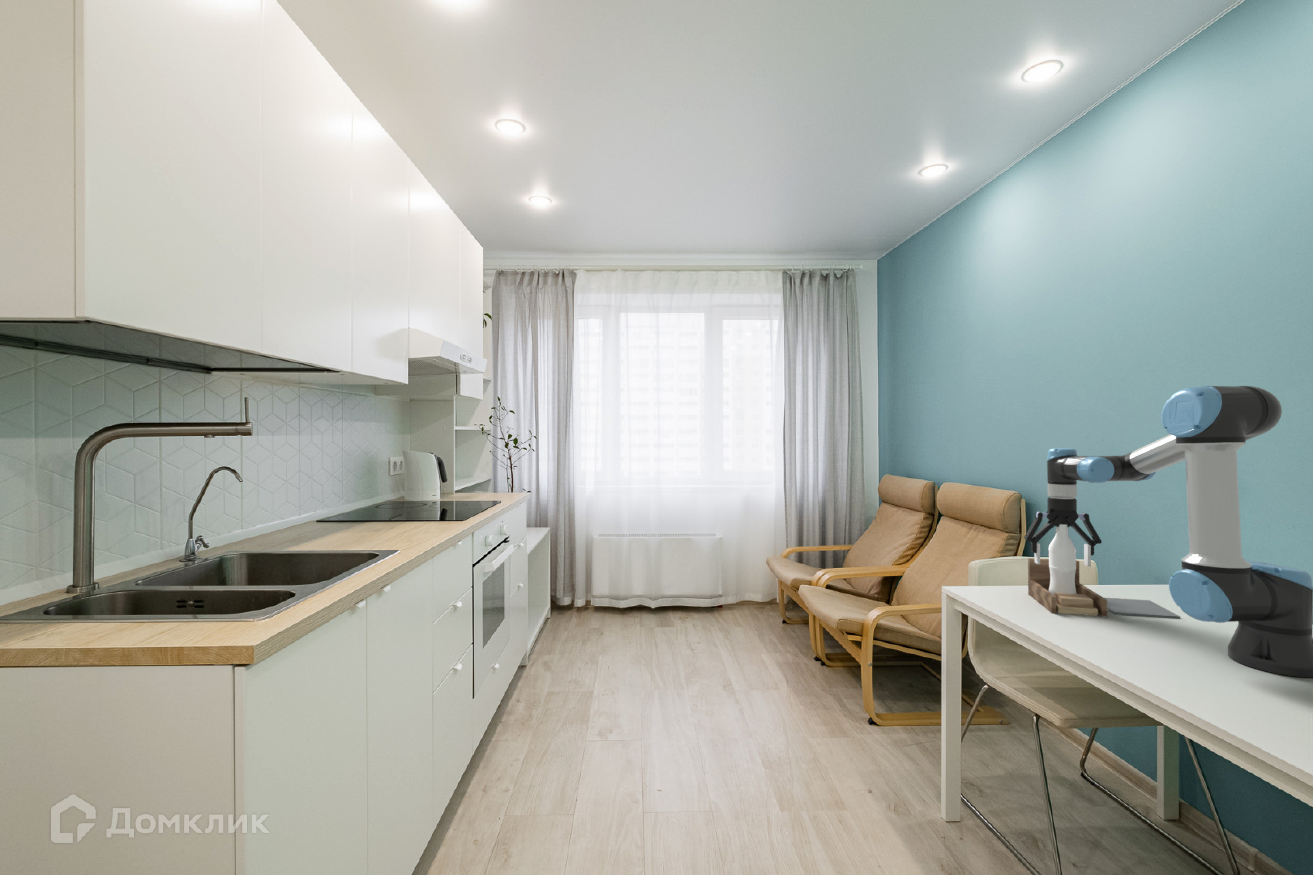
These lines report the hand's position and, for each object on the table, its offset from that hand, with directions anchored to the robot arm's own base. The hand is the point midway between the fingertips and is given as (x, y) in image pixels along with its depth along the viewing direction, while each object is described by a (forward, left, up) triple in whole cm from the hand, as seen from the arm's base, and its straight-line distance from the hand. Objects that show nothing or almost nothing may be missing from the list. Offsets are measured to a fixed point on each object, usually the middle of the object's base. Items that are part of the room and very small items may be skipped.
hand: (1062, 564), depth 178 cm
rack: (-2, 0, -12) cm, 12 cm away
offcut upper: (-8, 0, -10) cm, 13 cm away
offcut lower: (-8, 0, -13) cm, 15 cm away
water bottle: (0, 0, -12) cm, 12 cm away
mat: (-1, -18, -12) cm, 22 cm away
